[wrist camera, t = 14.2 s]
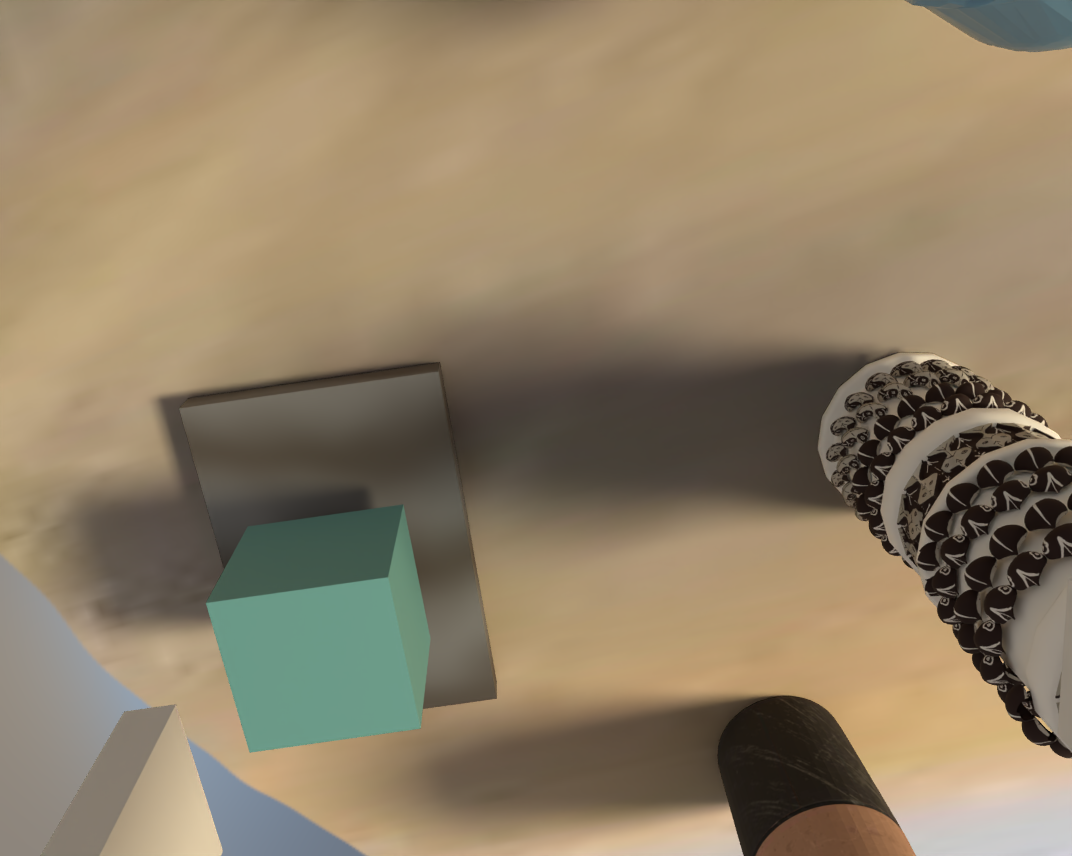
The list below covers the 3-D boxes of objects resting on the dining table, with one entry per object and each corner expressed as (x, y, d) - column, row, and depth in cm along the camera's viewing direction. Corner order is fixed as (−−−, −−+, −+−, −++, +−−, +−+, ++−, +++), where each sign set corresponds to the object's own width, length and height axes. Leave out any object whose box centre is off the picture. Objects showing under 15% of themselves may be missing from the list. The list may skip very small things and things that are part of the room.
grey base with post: (188, 398, 45) (113, 477, 36) (440, 362, 45) (427, 432, 36) (275, 712, 51) (230, 845, 42) (496, 681, 51) (497, 808, 42)
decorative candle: (995, 500, 49) (1463, 891, 25) (816, 531, 49) (1115, 948, 25) (994, 329, 46) (1528, 593, 22) (803, 363, 46) (1131, 661, 22)
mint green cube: (247, 526, 44) (205, 603, 37) (403, 504, 44) (388, 577, 37) (283, 659, 46) (249, 752, 40) (430, 638, 46) (420, 728, 40)
